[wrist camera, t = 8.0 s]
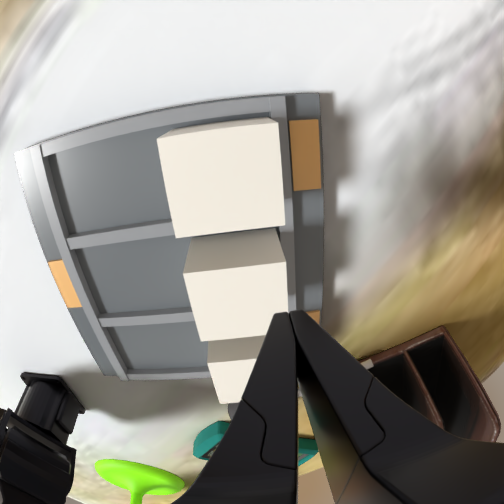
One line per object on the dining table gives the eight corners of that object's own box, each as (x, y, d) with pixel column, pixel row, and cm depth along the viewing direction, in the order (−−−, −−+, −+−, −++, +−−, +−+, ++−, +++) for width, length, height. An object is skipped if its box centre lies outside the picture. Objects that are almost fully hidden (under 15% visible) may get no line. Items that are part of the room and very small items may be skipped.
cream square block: (186, 207, 18) (175, 238, 14) (173, 128, 15) (156, 138, 12) (273, 197, 18) (285, 225, 14) (267, 116, 15) (277, 122, 12)
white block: (220, 363, 24) (220, 403, 20) (209, 321, 22) (207, 363, 18) (282, 356, 24) (290, 396, 20) (280, 313, 22) (289, 354, 18)
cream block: (204, 299, 21) (200, 341, 17) (191, 237, 18) (183, 273, 15) (279, 291, 21) (288, 332, 17) (275, 227, 18) (286, 261, 15)
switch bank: (107, 365, 25) (102, 381, 24) (23, 149, 16) (7, 155, 14) (315, 349, 26) (320, 365, 24) (313, 93, 16) (322, 92, 14)
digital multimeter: (214, 415, 30) (213, 437, 28) (318, 436, 35) (322, 455, 32) (188, 439, 33) (187, 459, 31) (285, 458, 37) (288, 475, 35)
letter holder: (443, 322, 26) (513, 431, 14) (428, 411, 35) (461, 488, 23) (353, 360, 27) (400, 493, 15) (365, 437, 36) (390, 520, 24)
